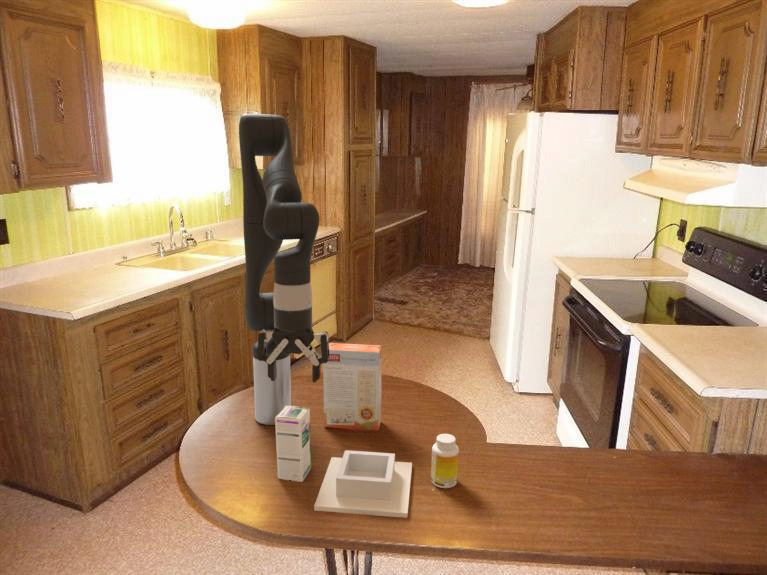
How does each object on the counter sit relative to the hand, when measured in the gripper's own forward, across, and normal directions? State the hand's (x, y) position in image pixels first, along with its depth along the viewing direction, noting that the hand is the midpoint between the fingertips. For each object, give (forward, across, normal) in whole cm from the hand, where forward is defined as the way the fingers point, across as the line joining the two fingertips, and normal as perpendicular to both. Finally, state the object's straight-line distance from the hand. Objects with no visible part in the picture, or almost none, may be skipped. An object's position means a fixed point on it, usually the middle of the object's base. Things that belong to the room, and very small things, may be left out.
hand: (294, 380), depth 115 cm
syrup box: (+22, 0, 0) cm, 22 cm away
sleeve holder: (+22, -15, +3) cm, 27 cm away
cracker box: (+22, -10, -24) cm, 34 cm away
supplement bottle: (+22, -32, 0) cm, 38 cm away
